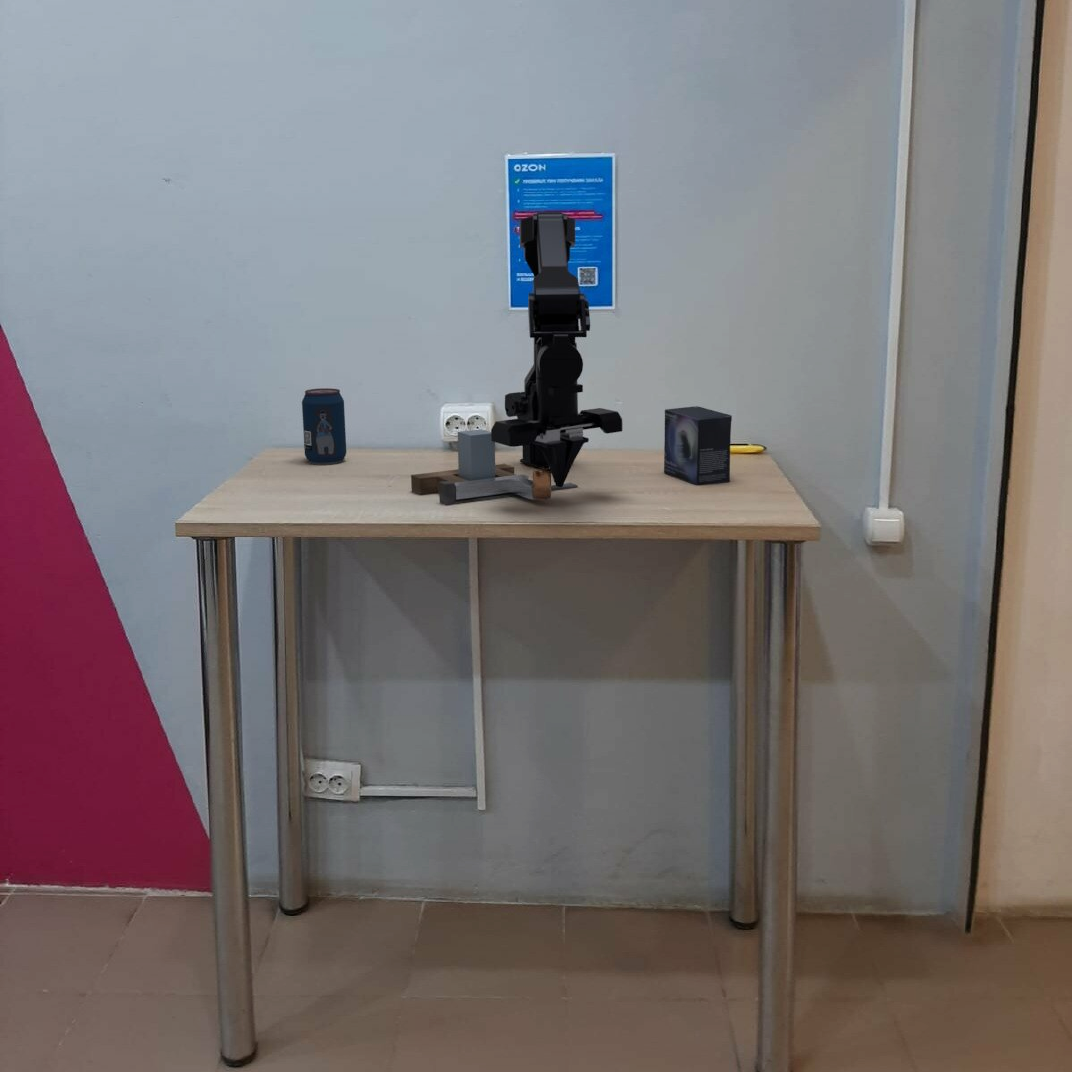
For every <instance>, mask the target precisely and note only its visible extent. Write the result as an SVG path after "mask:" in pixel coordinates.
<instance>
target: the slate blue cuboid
mask: <svg viewBox="0 0 1072 1072" xmlns="http://www.w3.org/2000/svg"><path fill="white" fill-rule="evenodd" d="M457 460H458V462H457V463H458V466H457V468H458V472H459V477H460V478H463V479H465V480H468V481H472V480H480V479H488V478H495V465H496V442H493V441H492V438H491V431H489V430H485V429H482V428H481V429H470V430H462V431H461V430H460V431H457Z"/></svg>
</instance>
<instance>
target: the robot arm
mask: <svg viewBox="0 0 1072 1072" xmlns="http://www.w3.org/2000/svg"><path fill="white" fill-rule="evenodd" d="M575 245H576V219H574V218H572V217H570V216H568V214H567V213H563V212H562V211H538V212H536V213H532V216H528V217H526V218H522V219H520V221H519V248H523V257H524V260H525V262H526V265H528V267H529V269H530V271H531V273H532V274H533V282H532V284H533V285H532V293H528V296H527V297H528V301H527V305H528V306H527V308H528V309H527V311H528V314H527V315H528V316H527V317H528V328H529V329H528V331H529V338H530V339H531V338H532V339H533V365H532V366H531V368H530V370H529V371H528V373H527V374H526V376H525V378H524V383H523V384H524V385H523V386H524V390H523V391H519V392H518V391H516V392H509V393H507V394H505V395H504V411H505V413H506V417H508V418H511V417H512V418H513V417H516V418H514V419H504V420H498V421H497V420H496V421H495V422H494V424H493V426H492V427H491V430H490V432H491V438H492V441H493V442H495V444H501V445H504V446H507V447H514V448H515V447H516V448H517V447H522V458H519V463H522V464H525V465H528V466H532V467H535V468H548V469H551V477H552V478H553V479H552V480H553V481H554V485H556V486H557V487H562V486H563V484H565V483H566V480H567V477H568V475H569V473H570V471H571V469H572V467H573V464H574V462H575V460H576V458H577V456H578V455H579V453H580V451H581V449H582V447H583V446H584V444H587V443H589V442H590V441H589V438H588V437H586V436H584V430H592V429H600V430H601V431H602V432H603V434H613V433H621V432H623V418H622V416H621V414H620V413H619V411H617V410H612V409H606V408H601V407H599V408H591V409H590V408H588V409H584V410H580V411H579V405H578V404H579V402H578V401H579V400H578V399H579V398H578V396H579V394H578V393H583V392H584V389H583V386H584V385H583V384H580V383H578V380H579V378H580V377H581V376H582V373H583V368H584V361H583V358H582V355H581V353H580V352H579V350H578V349H577V347H578V346H577V345H578V344H577V343H578V342H576V338H587V335H588V334H587V333H588V332H589V331H591V317H590V306H589V301H588V299H586V294H585V293H584V292H581V291H580V283H579V278H578V277H577V276H576V275H574V274H572V273H571V272H570V270H569V264H568V263H569V262H570V257H571V248H575ZM579 323H580V324H579ZM579 325H580V326H579ZM587 331H588V332H587Z"/></svg>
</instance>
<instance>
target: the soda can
mask: <svg viewBox="0 0 1072 1072" xmlns="http://www.w3.org/2000/svg"><path fill="white" fill-rule="evenodd" d="M340 392H341V391H340V389H338V388H331V387H330V388H328V387H327V388H325V387H324V388H312V389H311V388H310V389H307V390H305V391H304V395H303V398H302V399H301V400H302V401H301V408H302V409H301V412H302V426H303V445H304V446H303V448H304V456H305V458H306V460H307V461H308V462H309V463H310V464H311V463H313V464H312V465H318V464H328V465H336V464H340V463H342V462H343V461H344V460H345V457H346V455H347V438H346V436H347V435H346V434H347V433H346V419H345V418H346V416H345V400H344V398H343V397H342V395H341V393H340ZM339 462H340V463H339ZM335 463H336V464H335Z"/></svg>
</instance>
